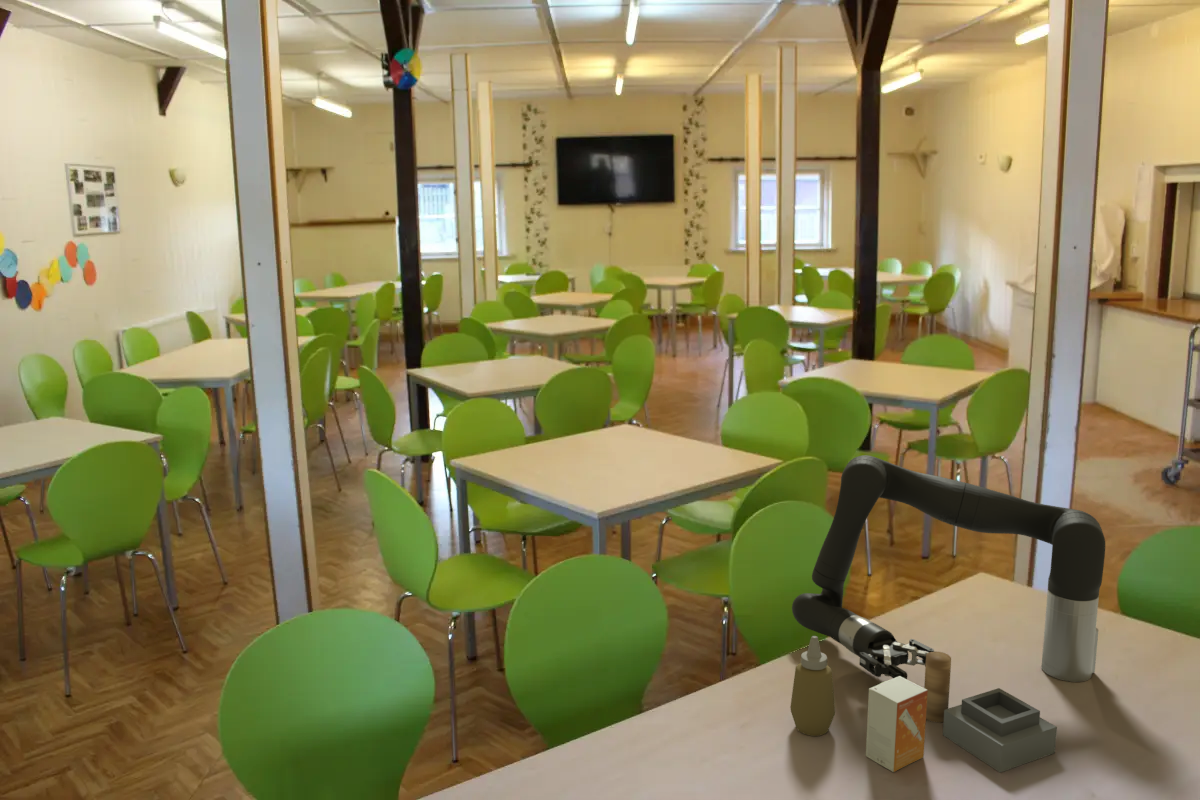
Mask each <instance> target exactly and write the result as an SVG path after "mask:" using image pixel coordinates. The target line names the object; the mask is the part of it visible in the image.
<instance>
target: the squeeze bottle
mask: <svg viewBox="0 0 1200 800" xmlns="http://www.w3.org/2000/svg"><path fill="white" fill-rule="evenodd" d="M807 648H808V649H807V650H806V651H803V652H802V653H801V655H800V663H798V664H797V665H796V666H795V668H794V669H795V670H794V677H793V683H792V684H793V685H792V692H791V698H790V699H791V700H790V707H789V708H790V712H791V715H792V718H793V721H794V725H795V728H796V729H797V731H798V732H800V733H802V734H803V735H805V736H811V737H818V736H819V737H820V736H823V735H826V734H827V733H828V731H829V730H830V727H831V726H832V725H831V724H832V723H833V720H834V717H835V716H836V706H835V694H834V682H833V681H834V679H833V670H832V668H831V667H830V666H829V665H828V656H827V654H825V653H824V652H822V651H821V647H820V641H819V637H818V636H816V635H812V636H811V638H810V640H809V645H808V647H807Z"/></svg>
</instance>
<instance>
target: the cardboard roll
mask: <svg viewBox="0 0 1200 800" xmlns="http://www.w3.org/2000/svg"><path fill="white" fill-rule="evenodd" d="M951 666H952V656H950V655H949V654H947V653H945V652H941V651H934V652H929V653H927V654H926V666H925V665H924V667H925V668H924V687H923V688H925V689H927V690H928V694H927V709H926V721H930V722H932V723H944V710H945V709H949V700H950V689H951V685H950V684H951V668H952V667H951Z"/></svg>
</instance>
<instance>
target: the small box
mask: <svg viewBox="0 0 1200 800" xmlns="http://www.w3.org/2000/svg"><path fill="white" fill-rule="evenodd" d="M927 694H928V690H927V689H925V688H924V687H923V686H921V685H919V684H916V683H915V682H913V681H911V680H909V679H908V678H907V679H905V678H903V677H901V676H898V677H895V678H890V679H889V680H885V681H882V682H881V683H879V684H877V685H876V684H875V685H874V686H872V687H869V688H868V697H867V700H868V702H867V720H866V721H867V722H866V723H867V724H866V740H865V741H866V743H865V745H866V746H865V756H866V758H868V759H870V760H871V761H873V762H875V763H877V764H879V765H880V766H882V767H884V768H885V769H887V770H889V771H891V772H892V773H895V772H897V771H899V770H900V769H903V768H905V767H907V766H909V765H911V764H912V763H914V762H917V761H919V760H921V759H923V758H924V756H925V755H924V754H925V753H924V752H925V741H926V740H925V739H926V738H925V737H926V725H927V724H926V723H927V719H926V709H927Z"/></svg>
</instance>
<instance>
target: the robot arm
mask: <svg viewBox="0 0 1200 800" xmlns="http://www.w3.org/2000/svg"><path fill="white" fill-rule="evenodd" d="M879 499H884V500H889V501H895V502H898V503H902V504H905V505H909V506H910V507H912V508H914V509H917V510H918V511H920V512H922V513H924V514H926V515H928V516H930V517H932V518H933V519H935V520H938V521H940V522H942V523H945V524H948V525H951V526H954V527H958V528H961V529H964V530H969V531H973V532H977V533H983V534H985V533H986V534H999V535H1000V534H1005V535H1006V534H1008V535H1020V536H1025V537H1029V538H1033V539H1036V540H1039V541H1042V542H1045V543H1047V544H1050V545H1052V546H1051V547H1052V548H1051V549H1052V550H1051V562H1050V570H1049V575H1048V582H1047V594H1046V606H1045V620H1044V631H1043V643H1042V644H1043V645H1042V653H1041V654H1042V657H1041V670H1042V671H1043V672H1044V673H1045V674H1046V675H1048V676H1050V677H1053V678H1056V679H1058V680H1062V681H1066V682H1071V683H1072V682H1075V683H1077V682H1079V683H1080V682H1085V681H1089V680H1090V679H1091V678H1092V675H1093V674H1094V673H1095V672H1096V661H1097V650H1098V640H1099V628H1097V621H1098V610H1099V600H1100V599H1099V597H1100V588H1101V586H1102V581H1103V573H1104V565H1105V556H1106V538H1105V535H1104V532H1103V529H1102V527H1101V524H1100V522H1098V520H1097V519H1096V518H1095V517H1094V516H1093V515H1092V514H1091V513H1087V512H1086V511H1083V510H1079V509H1075V508H1069V507H1064V506H1063V507H1061V506H1056V505H1049V504H1044V503H1038V502H1034V501H1030V500H1026V499H1023V498H1020V497H1018V496H1013V495H1011V494H1007V493H1003V492H1000V491H997V490H993V489H989V488H986V487H983V486H979V485H975V484H972V483H968V482H964V481H960V480H956V479H951V478H947V477H943V476H939V475H933V474H929V473H922V472H919V471H914V470H910V469H908V468H905V467H902V466H900V465H897V464H894V463H891V462H889V461H886V460H884V459H881V458H879V457H875V456H873V455H865V454H864V455H859V456H855V457H853V458H852V459H850V460H849V461H848V463H847V464H846V465H845V467H844V469H843V471H842V473H841V477H840V488H839V494H838V500H837V505H836V508H835V513H834V517H833V520H832V522H831V524H830V528H829V530H828V532H827V534H826V537H825V539H824V541H823V544H822V546H821V549H820V550H819V553H818V556H817V558H816V561H815V564H814V567H813V569H812V573H811V580H812V582H813V583H814V584H815V585H816V586H818V587H819V588H822V589H821V592H820V593H813V592H812V593H809V592H804V593H801V594H799V595H798V596H796V597H795V599H794V600H793V601H792V604H791V610H792V615H793V617H794V619H795V620H796V622H797V623H798V624H800V625H801V626H802V627H804V628H806V629H807V630H810V631H813V632H816V633H818V634H820V635H824V636H827V637H829V638H831V639H832V640H834V641H836V642H837V643H838V644H840V645H842V646H843V647H844V648H846V649H847V650H848V651H849V652H851V653H852V654H853V655H856V656H857V657H859V664H858V665H859V666H860V667H862V669H865V671H867V672H868V673H870V674H871V675H872V676H874V677H876V678H881V677H882V675H884V676H885V677H891V679H893V678H895V677H898V676H901V677H903V678H905V679H907V680H908V672H907V671H906V670H904V669H902V668H900V667H899V665H909V666H915V665H919V666H920V665H921V666H924V667H925V666H926V654H927V653H929V652H935V649H934V648H932V647H930V646H929V645H926V644H924V643H922V642H921V641H918V640H916V639H914V638H910V639H909V642H908V643H906V644H905V643H902V642H899V641H897V639H896V638H895V636H894V634H893V633H892V632H891V631H890V630H888V629H886V628H884V627H882V626H881V625H878V624H877V623H875V622H873V621H871V620H870V619H868V618H866V617H862V616H860V615H858V614H856V613H855V612H853V611H851V610H849V609H848V608H845V607H843V598H844V585H845V582H846V579H847V577H848V574H849V571H850V568H851V565H852V563H853V560H854V557H855V554H856V553H855V552H856V551H857V546H858V542H859V540H860V535H861V533H862V531H863V528H864V526H865V524H866V521H867V519H868V517H869V515H870V513H871V512H872V510H873V508H874V506H875V505H876V503H877V502H878V500H879ZM909 653H910V654H911V659H909ZM918 657H919V658H920V659H919V658H918Z"/></svg>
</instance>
